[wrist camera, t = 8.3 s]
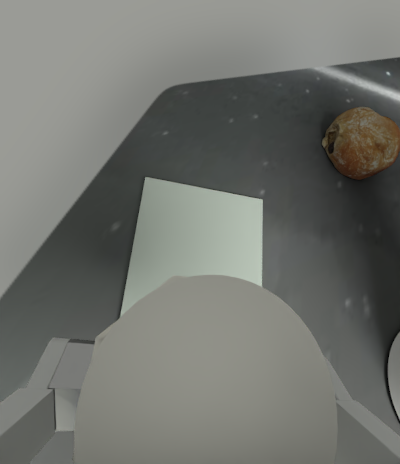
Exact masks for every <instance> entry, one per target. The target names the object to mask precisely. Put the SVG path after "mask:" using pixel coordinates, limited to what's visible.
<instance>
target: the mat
mask: <svg viewBox="0 0 400 464" xmlns="http://www.w3.org/2000/svg"><path fill="white" fill-rule="evenodd" d="M262 213H263V200H262V199H257V198H252V197H247V196H241V195H236V194H231V193H226V192H221V191H216V190H211V189H205V188H200V187H195V186H190V185H185V184H180V183H174V182H169V181H164V180H159V179H154V178H149V177H145V182H144V188H143V193H142V199H141V204H140V210H139V215H138V221H137V226H136V232H135V237H134V243H133V248H132V254H131V260H130V265H129V271H128V276H127V282H126V287H125V293H124V298H123V304H122V309H121V315H120V317H121V316H122V315H123V314H124V313H125V312H126V311H127V310H128V309H130V308H131V307H132V306H133V305H134V304H135V303H136V302H137V301H139V300H140V299H142V298H143V297H145V296H146V295H148V294H149V293H150V292H152V291H154V290H156V289H157V288H158V287H159V286H161V285H162V284H163V283H164V282H166V281H167V280H168V279H169V278H171V277H172V276H173V275H176V276H185V277H192V276H199V275H225V276H231V277H236V278H240V279H243V280H246V281H249V282H252V283H254V284H257V285H259V286H261V287H262Z"/></svg>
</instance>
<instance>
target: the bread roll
mask: <svg viewBox="0 0 400 464" xmlns="http://www.w3.org/2000/svg"><path fill="white" fill-rule="evenodd" d="M322 145H323V147H324V148H325V150H326V152H327V154H328V157H329V158H330V160H331V161H332V163H333V164H334V167H335V168H336V169H337V170H338V171H339V172H340V173H341V174H343V175H345V176H347V177H349V178H352V179H357V180H361V179H364V178H367V177H370V176H373V175H375V174H377V173H379V172H381V171H383V170H385V169H387V168H388V167H389V166H391V165H392V164H393V163H394V162H395V160H396V158H397V156H398V153H399V150H400V130H399V128H398V126H397V125H396V124H395V122H394V121H392V120H391V119H390V118H388V117H383V116H380V115H379V114H378V113H376V112H374V111H373V110H372V109H370V108H369V107H357V108H353V109H349V110H347V111H345V112H344V113H342V114H341V115H339V116H338V117H337V118H336V119H335V120H334V122H333V123H332V124H331V125H330V127H329V128H328V129H327V130H326V134H325V138H323V139H322Z"/></svg>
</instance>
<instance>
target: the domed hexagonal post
mask: <svg viewBox="0 0 400 464" xmlns="http://www.w3.org/2000/svg"><path fill="white" fill-rule="evenodd" d="M337 434H338V423H337V407H336V400H335V392H334V388H333V384H332V380H331V376H330V373H329V370H328V367H327V364H326V361H325V358H324V356H323V354H322V352H321V350H320V348H319V346H318V343H317V342H316V340H315V338H314V337H313V335H312V333H311V332H310V330H309V329H308V327H307V326H306V325H305V324H304V322H303V321H302V320H301V318H300V317H299V316H298V315H297V314H296V313H295V312H294V311H293V310H292V309H291V308H290V307H289V306H288V305H287V304H286V303H285V302H284V301H282V300H281V299H280V298H279V297H277V296H276V295H274V294H273V293H271V292H270V291H268V290H267V289H265V288H263V287H261V286H259V285H257V284H254V283H252V282H249V281H246V280H243V279H240V278H236V277H231V276H225V275H199V276H192V277H185V276H176V275H173V276H172V277H171V278H169V279H168V280H167V281H166V282H164V283H163V284H162V285H161V286H159V287H158V288H157V289H156V290H154V291H152V292H150V293H149V294H148V295H146V296H145V297H143V298H142V299H140V300H139V301H137V302H136V303H135V304H134V305H133V306H132V307H131V308H130V309H128V310H127V311H126V312H125V313H124V314H123V315H122V316H121V317H120V318H119V319H118V320H117V321H116V322H114V323H113V324H112V325H111V326H109V327H108V328H107V329H106V330H104V331H103V332H102V333H101V334H99V335H98V336H97V337H96V339H95V344H94V349H93V355H92V360H91V363H90V366H89V368H88V371H87V374H86V376H85V379H84V381H83V385H82V389H81V393H80V396H79V400H78V405H77V412H76V419H75V428H74V453H73V459H72V460H73V462H74V463H75V464H334V462H335V456H336V449H337Z"/></svg>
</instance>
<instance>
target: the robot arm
mask: <svg viewBox="0 0 400 464" xmlns="http://www.w3.org/2000/svg"><path fill="white" fill-rule="evenodd" d="M94 344H95V341H89V340H79V339H66V338H54V337H53V338H52V339H51V340H50V341H49V343H48V345H47V347H46V349H45V351H44V352H43V354H42V356H41V358H40V360H39V362H38V364H37V366H36V368H35V370H34V372H33V374H32V376H31V378H30V380H29V382H28V384H27V386H26V388H19V389H18V390H16V391H15V392H14V393H12V394H11V395H10V396H8V397H7V398H6V399H4V400H3V401H2V402H1V403H0V464H29V463H30V461H31V460H32V459H33V458H34V457H35V456H36V455H37V453H38V452H39V451H40V450H41V449H42V448H43V447H44V445H45V444H46V443H47V442H48V441H49V440H50V439H51V437H52V436H53V435H54V434H55V431H74V428H75V419H76V412H77V405H78V400H79V396H80V393H81V389H82V385H83V381H84V379H85V376H86V374H87V371H88V368H89V366H90V363H91V360H92V355H93V349H94ZM324 358H325V361H326V364H327V367H328V370H329V373H330V376H331V380H332V384H333V388H334V392H335V400H336V407H337V423H338V434H337V449H336V456H335V462H334V464H400V436H399V435H398V434H396V433H395V432H394V431H393V430H392V429H390V428H389V427H388V426H387V425H386V424H384V423H383V422H382V421H381V420H379V419H378V418H377V417H376V416H375V415H373V414H372V413H371V412H370V411H369V410H367V409H366V408H365V407H364V406H363V405H361V404H360V403H359V402H358V401H353V400H352V398H351V397H350V395H349V393H348V392H347V390H346V388H345V387H344V385H343V383H342V382H341V380H340V379H339V377H338V375H337V374H336V372H335V370H334V369H333V367H332V365H331V364H330V362H329V360H328V359H327V358H326V357H325V356H324ZM388 381H389V388H390V393H391V398H392V401H393V404H394V407H395V410H396V413H397V415H398V417H399V419H400V332H399V333H398V335H397V336H396V338H395V340H394V342H393V344H392V347H391V350H390V354H389V360H388Z"/></svg>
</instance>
